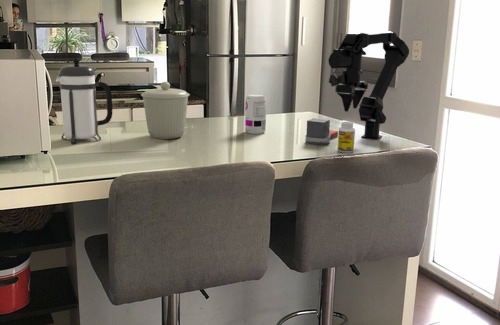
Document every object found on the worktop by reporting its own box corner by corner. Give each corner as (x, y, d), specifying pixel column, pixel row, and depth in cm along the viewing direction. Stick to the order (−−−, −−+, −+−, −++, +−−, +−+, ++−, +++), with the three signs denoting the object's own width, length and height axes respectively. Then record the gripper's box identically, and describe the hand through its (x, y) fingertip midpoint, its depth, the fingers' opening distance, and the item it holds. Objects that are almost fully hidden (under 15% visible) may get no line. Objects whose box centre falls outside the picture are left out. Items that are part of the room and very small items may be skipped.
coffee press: (93, 145, 194) (88, 59, 186) (52, 143, 197) (45, 58, 189) (114, 136, 210) (110, 56, 203) (76, 133, 213) (71, 55, 206)
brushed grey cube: (313, 133, 208) (314, 118, 206) (329, 135, 205) (329, 119, 203) (306, 136, 202) (307, 120, 201) (322, 138, 199) (323, 122, 198)
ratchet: (322, 134, 220) (323, 120, 218) (344, 136, 215) (344, 123, 214) (301, 143, 202) (301, 128, 201) (323, 146, 198) (324, 131, 197)
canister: (132, 138, 207) (130, 82, 201) (161, 130, 222) (160, 78, 217) (171, 143, 199) (170, 85, 193) (199, 135, 214) (198, 81, 209)
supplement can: (243, 133, 218) (243, 96, 215) (248, 129, 226) (248, 93, 222) (262, 134, 217) (263, 97, 213) (267, 131, 224) (268, 94, 221)
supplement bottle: (335, 152, 190) (336, 123, 187) (340, 149, 194) (342, 120, 192) (350, 154, 187) (352, 124, 184) (355, 150, 192) (357, 122, 189)
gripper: (341, 65, 212) (339, 105, 216) (322, 68, 196) (320, 111, 200) (369, 66, 207) (366, 107, 211) (352, 69, 191) (349, 114, 195)
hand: (350, 109), depth 204 cm, fingers open, 9 cm apart
